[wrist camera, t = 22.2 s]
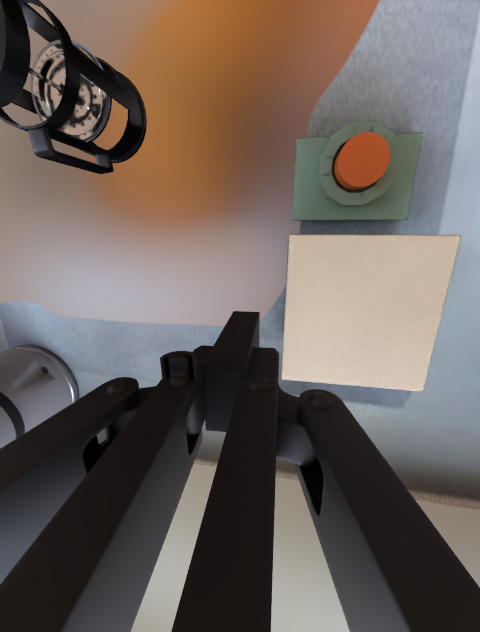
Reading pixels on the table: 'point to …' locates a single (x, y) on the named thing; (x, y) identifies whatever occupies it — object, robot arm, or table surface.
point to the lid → (365, 307)
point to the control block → (344, 204)
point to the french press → (64, 90)
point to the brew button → (362, 161)
